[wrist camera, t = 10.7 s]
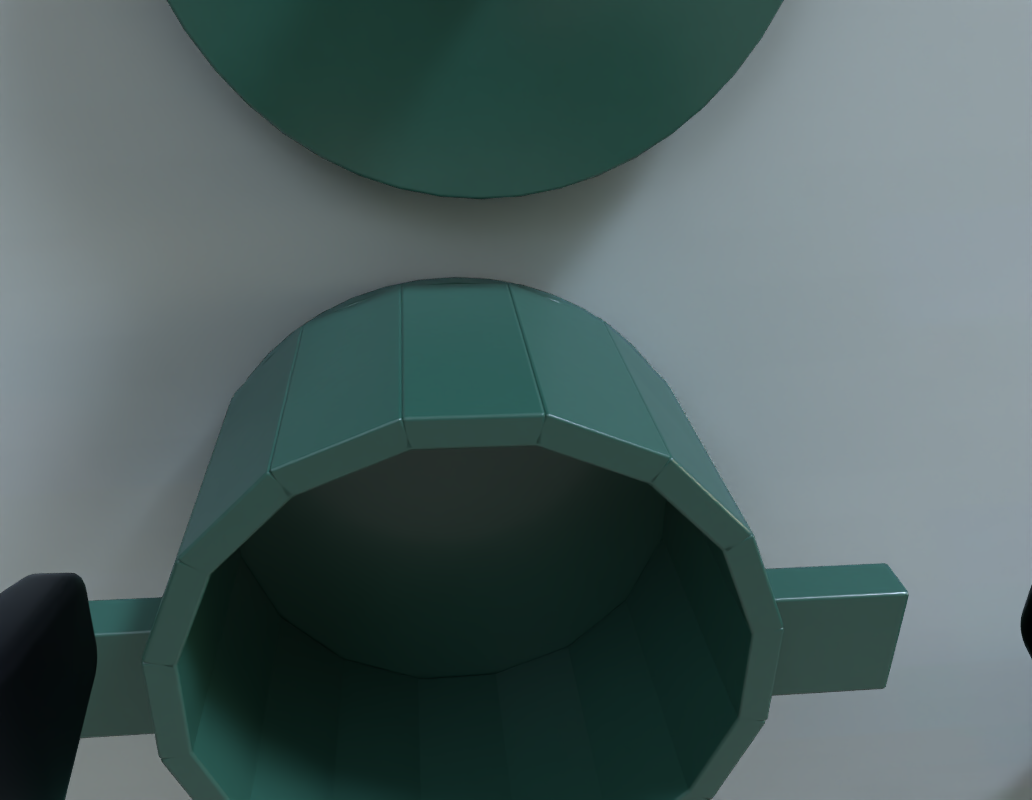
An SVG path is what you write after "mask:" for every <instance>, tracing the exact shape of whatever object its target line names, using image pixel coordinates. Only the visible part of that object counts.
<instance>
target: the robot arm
mask: <svg viewBox="0 0 1032 800" xmlns="http://www.w3.org/2000/svg"><path fill="white" fill-rule="evenodd" d="M1021 634H1022V638H1023V641H1024V644H1025V646H1026V648H1027V650H1028V652H1029V654H1030V656H1031V658H1032V585H1031V588H1030V591H1029V594H1028V597H1027V600H1026V603H1025V606H1024V609H1023V612H1022V616H1021ZM96 668H97V645H96V639H95V634H94V629H93V623H92V618H91V613H90V607H89V602H88V597H87V592H86V587H85V584H84V582H83V580H82V578H81V577H80V576H78V575H77V574H75V573H42V574H31V575H28V576H27V577H25V578H23V579H21V580H20V581H18V582H17V583H15V584H14V585H12V586H11V587H9V588H8V589H6V590H5V591H3V592H2V593H0V800H65V797H66V793H67V789H68V785H69V781H70V777H71V773H72V769H73V765H74V761H75V757H76V752H77V748H78V744H79V740H80V736H81V732H82V728H83V724H84V720H85V716H86V712H87V707H88V703H89V699H90V695H91V691H92V687H93V683H94V679H95V674H96Z"/></svg>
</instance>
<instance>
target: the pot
mask: <svg viewBox="0 0 1032 800" xmlns="http://www.w3.org/2000/svg"><path fill="white" fill-rule="evenodd" d="M908 596H909V595H908V591H907V590H906V589H905V587H904V586H903V585H902V583H901V582H900V581H899V579H898V578H897V577H896V575H895V574H894V573H893V571H892V570H891V569H890V567H889V566H888V565H887V564H884V563H881V564H860V565H839V566H818V567H797V568H775V569H765V567H764V564H763V561H762V558H761V555H760V552H759V549H758V546H757V543H756V540H755V537H754V535H753V533H752V531H751V529H750V528H749V526H748V524H747V522H746V521H745V519H744V517H743V515H742V514H741V512H740V510H739V508H738V507H737V505H736V503H735V501H734V500H733V498H732V496H731V494H730V493H729V491H728V489H727V487H726V486H725V484H724V482H723V480H722V479H721V477H720V475H719V473H718V472H717V470H716V468H715V466H714V464H713V463H712V461H711V459H710V457H709V456H708V454H707V452H706V450H705V449H704V447H703V445H702V443H701V442H700V440H699V438H698V436H697V435H696V433H695V431H694V429H693V428H692V426H691V424H690V422H689V421H688V419H687V417H686V415H685V414H684V412H683V410H682V408H681V406H680V405H679V403H678V401H677V399H676V398H675V396H674V394H673V392H672V391H671V389H670V387H669V386H668V384H667V383H666V381H665V380H664V379H663V378H662V377H661V376H660V375H659V374H658V373H657V372H656V371H654V370H653V369H652V367H651V366H650V365H649V364H648V362H647V361H646V360H645V359H644V358H643V357H642V356H641V354H640V353H639V352H638V351H637V350H636V349H635V348H634V346H633V345H632V344H631V343H629V342H628V341H627V340H626V339H625V338H624V337H622V336H621V335H620V334H619V333H618V332H617V331H615V330H614V329H613V328H612V327H611V326H610V325H608V324H607V323H606V322H604V321H602V319H601V318H598V317H596V316H594V315H593V314H591V313H589V312H588V311H586V310H585V309H583V308H581V307H579V306H577V305H575V304H572V303H570V302H568V301H566V300H564V299H562V298H559V297H557V296H555V295H553V294H549V293H546V292H543V291H540V290H537V289H533V288H530V287H527V286H524V285H519V284H514V283H508V282H502V281H497V280H491V279H477V278H456V277H453V278H440V279H426V280H417V281H412V282H407V283H402V284H397V285H392V286H388V287H384V288H381V289H378V290H375V291H372V292H369V293H366V294H363V295H360V296H357V297H354V298H351V299H349V300H347V301H345V302H343V303H341V304H339V305H337V306H335V307H333V308H331V309H329V310H327V311H325V312H323V313H321V314H319V315H318V316H316V317H315V318H313V319H312V320H310V321H309V322H307V323H306V324H304V325H303V326H301V327H300V328H298V329H297V330H295V331H294V332H293V333H291V334H290V335H289V336H288V337H287V338H286V339H285V340H283V341H282V342H281V343H280V344H279V345H278V346H277V347H275V348H274V349H273V350H272V351H271V352H270V353H269V354H268V355H267V356H266V357H265V359H264V360H263V361H262V362H261V363H260V364H259V366H258V367H257V368H256V369H255V370H254V371H253V373H252V374H251V375H250V376H249V377H248V379H247V381H246V382H245V383H244V384H243V385H242V386H241V387H240V388H239V389H238V390H237V391H236V393H235V394H234V397H233V398H232V399H231V402H230V405H229V407H228V410H227V413H226V416H225V419H224V422H223V425H222V427H221V430H220V433H219V436H218V439H217V442H216V445H215V448H214V450H213V453H212V456H211V459H210V462H209V465H208V468H207V470H206V473H205V476H204V479H203V482H202V485H201V488H200V491H199V493H198V496H197V499H196V502H195V505H194V508H193V511H192V514H191V516H190V519H189V522H188V525H187V528H186V531H185V534H184V537H183V540H182V542H181V545H180V548H179V551H178V554H177V557H176V560H175V563H174V565H173V568H172V571H171V574H170V577H169V580H168V583H167V586H166V589H165V591H164V594H163V597H159V598H137V599H116V600H95V601H88V602H89V607H90V613H91V618H92V623H93V629H94V634H95V639H96V645H97V668H96V674H95V679H94V683H93V687H92V691H91V695H90V699H89V703H88V707H87V712H86V716H85V720H84V724H83V728H82V732H81V736H80V738H91V737H107V736H123V735H140V734H155V738H156V743H157V749H158V754H159V757H160V758H161V760H162V762H163V764H164V765H165V766H166V767H167V769H168V770H169V771H170V772H171V774H172V775H173V776H174V777H175V779H176V780H177V781H178V782H179V784H180V785H181V786H182V787H183V788H184V790H185V791H186V792H187V793H188V795H189V796H190V797H191V798H192V800H710V799H712V798H713V797H714V795H715V794H716V793H717V791H718V790H719V788H720V787H721V785H722V784H723V782H724V781H725V780H726V778H727V777H728V775H729V774H730V772H731V771H732V770H733V768H734V767H735V765H736V764H737V762H738V761H739V759H740V758H741V757H742V755H743V754H744V752H745V751H746V749H747V748H748V747H749V745H750V744H751V742H752V741H753V739H754V738H755V736H756V735H757V734H758V732H759V731H760V729H761V728H762V726H763V725H764V724H765V720H767V718H768V712H769V707H770V701H771V696H773V695H790V694H806V693H822V692H839V691H855V690H871V689H883V688H885V687H886V683H887V679H888V675H889V671H890V667H891V663H892V659H893V655H894V651H895V647H896V643H897V639H898V636H899V632H900V628H901V624H902V620H903V616H904V612H905V608H906V604H907V600H908Z"/></svg>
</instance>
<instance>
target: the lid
mask: <svg viewBox="0 0 1032 800" xmlns="http://www.w3.org/2000/svg"><path fill="white" fill-rule="evenodd" d="M783 1H784V0H167V2H168V3H169V5H170V7H171V8H172V10H173V12H174V13H175V15H176V17H177V19H178V20H179V22H180V24H181V25H182V27H183V29H184V30H185V32H186V33H187V34H188V36H189V37H190V38H191V40H192V41H193V42H194V43H195V45H196V46H197V47H198V49H199V50H200V51H201V53H202V54H203V55H204V57H205V58H206V59H207V61H208V62H209V63H210V65H211V66H212V67H213V68H214V70H215V71H216V72H217V73H218V74H219V75H220V76H221V77H222V78H223V79H224V80H225V81H226V82H227V83H228V84H229V85H230V86H231V87H232V89H233V90H234V91H235V92H236V93H237V94H238V95H239V96H240V97H241V98H242V99H243V100H244V101H245V102H246V103H247V104H248V105H249V106H250V107H252V108H253V109H254V110H255V111H256V112H258V113H259V114H260V115H261V116H263V117H264V118H265V119H266V120H267V121H269V122H270V123H271V124H272V125H274V126H275V127H276V128H277V129H278V130H280V131H281V132H282V133H283V134H285V135H287V136H288V137H290V138H291V139H293V140H294V141H296V142H298V143H299V144H301V145H302V146H304V147H305V148H307V149H309V150H310V151H312V152H313V153H315V154H316V155H318V156H320V157H321V158H323V159H325V160H328V161H330V162H332V163H334V164H336V165H338V166H340V167H342V168H344V169H347V170H349V171H351V172H353V173H355V174H357V175H359V176H362V177H365V178H368V179H371V180H374V181H377V182H380V183H383V184H386V185H389V186H392V187H396V188H399V189H403V190H408V191H413V192H419V193H424V194H429V195H434V196H439V197H454V198H471V199H490V198H504V197H519V196H525V195H530V194H535V193H540V192H545V191H550V190H555V189H560V188H563V187H566V186H569V185H572V184H575V183H578V182H581V181H584V180H587V179H590V178H593V177H596V176H599V175H601V174H603V173H605V172H607V171H609V170H611V169H613V168H615V167H617V166H619V165H621V164H623V163H626V162H628V161H630V160H632V159H634V158H636V157H637V156H639V155H640V154H642V153H644V152H645V151H647V150H648V149H650V148H651V147H653V146H654V145H656V144H657V143H659V142H660V141H662V140H664V139H665V138H667V137H668V136H670V135H671V134H672V133H674V132H675V131H676V130H677V129H678V128H680V127H681V126H682V125H683V124H684V123H686V122H687V121H688V120H689V119H690V118H692V117H693V116H694V115H695V114H696V113H697V112H699V111H700V110H701V109H702V108H703V107H705V105H706V104H707V103H708V102H709V101H710V100H711V99H712V98H713V97H714V96H715V95H716V94H717V93H718V92H719V91H720V90H721V88H722V87H723V86H724V85H725V84H726V83H727V82H728V81H729V80H730V79H731V78H732V77H733V76H734V75H735V73H736V72H737V71H738V69H739V68H740V67H741V65H742V64H743V63H744V61H745V60H746V58H747V57H748V56H749V54H750V53H751V52H752V50H753V49H754V48H755V46H756V45H757V44H758V42H759V41H760V40H761V38H762V37H763V35H764V33H765V31H766V30H767V28H768V26H769V25H770V23H771V21H772V19H773V18H774V16H775V14H776V13H777V11H778V9H779V7H780V6H781V4H782V2H783Z"/></svg>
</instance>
